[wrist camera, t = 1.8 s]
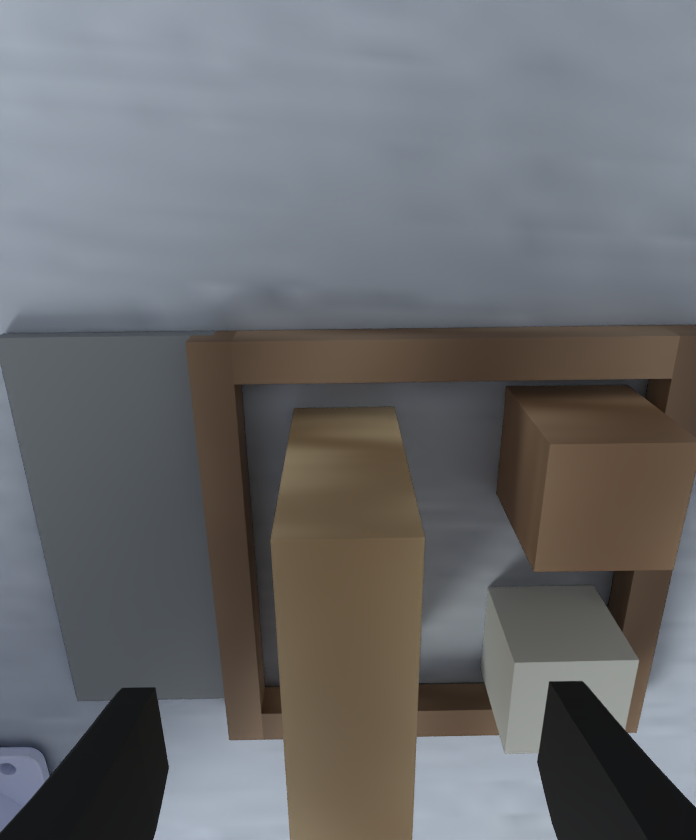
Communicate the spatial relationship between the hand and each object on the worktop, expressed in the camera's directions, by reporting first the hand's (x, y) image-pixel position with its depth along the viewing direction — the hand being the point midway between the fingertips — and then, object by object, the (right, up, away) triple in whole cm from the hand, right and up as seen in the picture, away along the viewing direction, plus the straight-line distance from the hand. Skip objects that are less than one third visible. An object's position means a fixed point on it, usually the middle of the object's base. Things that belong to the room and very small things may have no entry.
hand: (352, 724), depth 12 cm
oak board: (0, +2, +6) cm, 6 cm away
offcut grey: (+5, 0, +7) cm, 9 cm away
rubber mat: (-6, +3, +5) cm, 8 cm away
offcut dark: (+5, +5, +5) cm, 9 cm away
